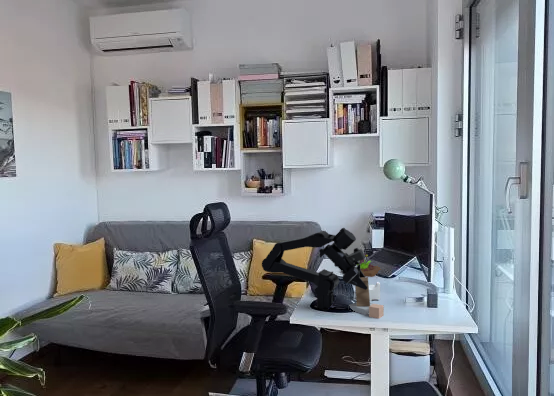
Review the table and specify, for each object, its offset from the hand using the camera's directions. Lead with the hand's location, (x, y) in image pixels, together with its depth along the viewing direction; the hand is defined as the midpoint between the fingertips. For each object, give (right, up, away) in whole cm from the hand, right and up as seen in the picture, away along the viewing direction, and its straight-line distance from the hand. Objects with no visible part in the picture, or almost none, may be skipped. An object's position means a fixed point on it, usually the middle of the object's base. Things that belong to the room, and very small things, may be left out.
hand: (367, 285), depth 182 cm
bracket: (+4, -9, +19) cm, 21 cm away
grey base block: (-1, -10, +1) cm, 10 cm away
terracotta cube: (+2, -10, -6) cm, 12 cm away
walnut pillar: (-1, -8, +1) cm, 8 cm away
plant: (+9, -5, +62) cm, 63 cm away
